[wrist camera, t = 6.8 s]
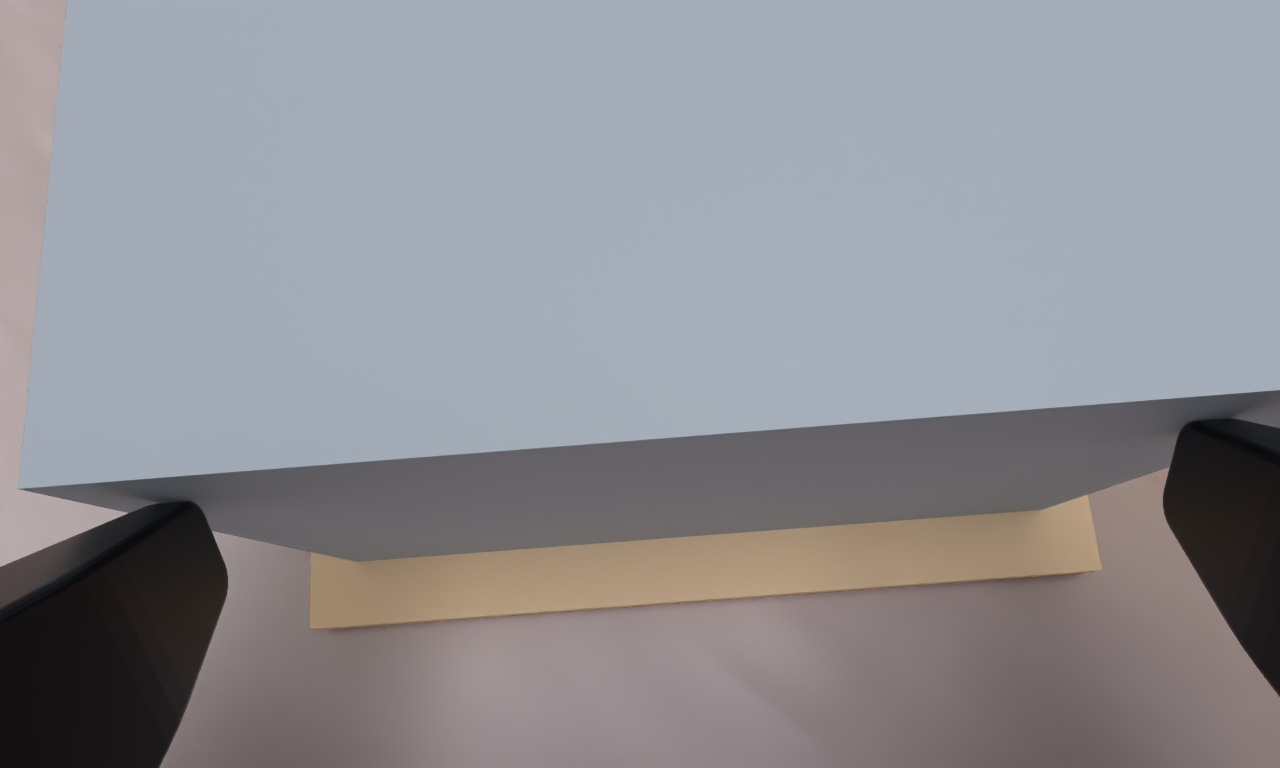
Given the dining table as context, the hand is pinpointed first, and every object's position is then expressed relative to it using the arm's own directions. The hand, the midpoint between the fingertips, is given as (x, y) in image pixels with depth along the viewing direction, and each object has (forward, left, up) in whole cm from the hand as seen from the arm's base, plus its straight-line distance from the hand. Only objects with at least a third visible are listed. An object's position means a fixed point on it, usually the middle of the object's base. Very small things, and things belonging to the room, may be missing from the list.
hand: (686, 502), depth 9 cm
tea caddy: (+2, +5, -7) cm, 9 cm away
